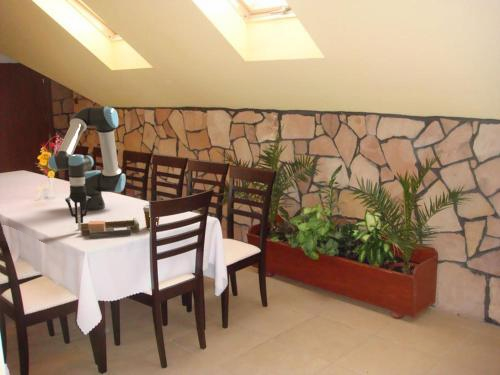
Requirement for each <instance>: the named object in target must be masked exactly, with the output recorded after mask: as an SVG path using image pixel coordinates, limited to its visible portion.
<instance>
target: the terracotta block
mask: <svg viewBox="0 0 500 375" xmlns="http://www.w3.org/2000/svg"><path fill="white" fill-rule="evenodd" d="M105 222H106V221H105V220H89V221H88V222H87V223H88V229H92V232H99V231H106V230H105Z"/></svg>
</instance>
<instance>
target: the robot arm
mask: <svg viewBox="0 0 500 375" xmlns="http://www.w3.org/2000/svg"><path fill="white" fill-rule="evenodd" d="M118 126H119V115H118V112H117V111H116V109H115V108H113V107H110V106H86V107H83V108H81V109H80V110H78V111H77V112H76V113H75V114H73V116H72V117H71V118H70V121H69V127H68V129H67V132H66V134H65V136H64V138H63V140H62V142H61V144H60V146H59V148H58V150H57V153H56V154H53V155H50V156H49V157H48V160H47V162H48V163H47V164H48V167H49V168H50V169H51V170H55V171H66V170H67V171H68V175H69V176H68V178H69V192H70V193H69V196H68V197H67V198H65V199H64V200H65V202H66V204H67V206H68V209H69V212H70V216H71V217H72V218H74V219H75V220H74V221H75V222H74V223H75V224H77V230H78V231H81V224H83V223H84V217H86V216H87V215H88V211H99V210H102V209H105V208H106V203H105V200H104V198H103V195H102V193H121V192H123V191H124V189H125V187H126V186H125V185H126V180H127V179H126V174H125V173H122V169H121V168H120V167H119V162H118V154H117V147H116V139H115V131H116V130H117V128H118ZM87 128H95V132H96V133H98V137H99V144H100V150H101V151H100V152H101V157H102V165H103V166H102V167H103V170H102V171H101V170H99V169H97V170H95V169H94V170H90V169H91V168H93V167H94V163H95V162H94V158H93V157H92V156H90V155H88V154H87V155H83V154H80V153H79V154H74V152H75V150H76V148H77V145H78V144H79V141H80V139H81V136H82V134H83V132H85V131H86V130H87ZM71 201H72V202H73V203H74V210H73V207H72V205H71ZM78 204H79V211H80V213H79V215H80V216H78Z"/></svg>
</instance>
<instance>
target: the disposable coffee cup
mask: <svg viewBox="0 0 500 375" xmlns="http://www.w3.org/2000/svg"><path fill="white" fill-rule="evenodd" d="M149 205H150V204H145V205H144V206H143V208H142V210H143V213H144V220H145V226H146V229H148V230H150V229H149V228H150V217H149ZM156 222H157V225H158V226H159V223H160V216H159V217H158V218H156Z"/></svg>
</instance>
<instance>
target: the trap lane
mask: <svg viewBox="0 0 500 375" xmlns="http://www.w3.org/2000/svg"><path fill="white" fill-rule="evenodd" d="M88 223H89V222H87V223H84V222H83V223H81V230H80V233H81V237H86V236H88V237H89V239H100V238H101V239H102V238H114V237H125V236H132V233H137V232H140V224H139V221H138V219H137V218H136V217H133V218H132V219H127V220H114V221H105V231H99V232H92V229H88ZM120 227H121V228H122V227H126V229H115V228H120Z"/></svg>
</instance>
